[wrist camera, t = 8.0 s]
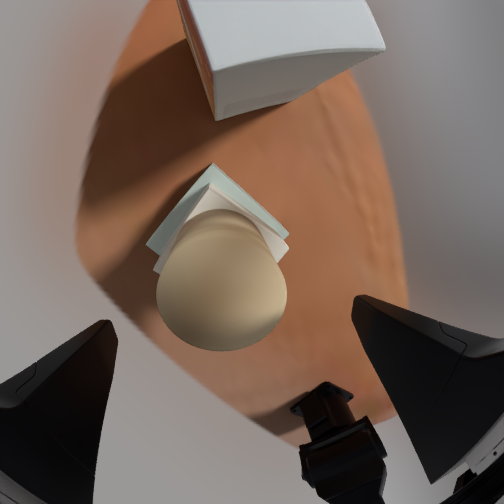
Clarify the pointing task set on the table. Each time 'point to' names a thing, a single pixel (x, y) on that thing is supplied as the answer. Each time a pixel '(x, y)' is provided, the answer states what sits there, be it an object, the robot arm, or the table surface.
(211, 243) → the maple cylinder
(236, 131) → the table surface
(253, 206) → the sage base block
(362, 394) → the table surface
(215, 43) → the small box
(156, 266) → the cream top block
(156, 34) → the table surface
